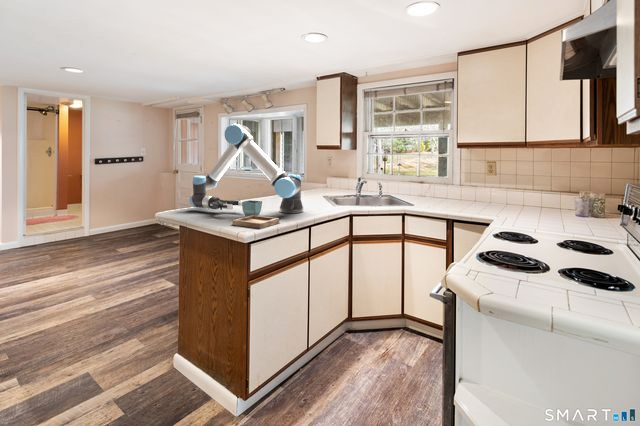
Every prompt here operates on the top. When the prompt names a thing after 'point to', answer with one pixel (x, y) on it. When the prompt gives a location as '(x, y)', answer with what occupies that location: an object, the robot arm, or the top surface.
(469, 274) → the top surface
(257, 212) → the flower pot
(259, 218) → the walnut tray
